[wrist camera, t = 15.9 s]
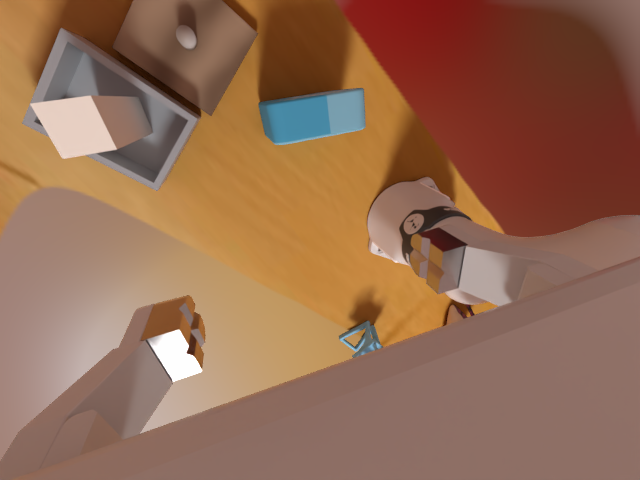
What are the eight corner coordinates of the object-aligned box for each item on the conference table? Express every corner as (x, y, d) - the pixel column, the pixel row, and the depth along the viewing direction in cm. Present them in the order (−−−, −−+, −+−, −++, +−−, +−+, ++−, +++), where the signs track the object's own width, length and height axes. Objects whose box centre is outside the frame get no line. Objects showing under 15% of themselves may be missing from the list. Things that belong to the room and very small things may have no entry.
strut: (138, 96, 34) (90, 95, 22) (153, 133, 37) (116, 149, 25) (100, 102, 34) (29, 103, 22) (117, 139, 36) (62, 158, 24)
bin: (201, 116, 38) (197, 119, 34) (164, 181, 40) (157, 191, 36) (83, 37, 31) (60, 27, 27) (48, 120, 33) (22, 123, 29)
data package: (334, 90, 41) (368, 87, 31) (337, 121, 44) (370, 128, 34) (256, 102, 39) (267, 103, 29) (264, 135, 41) (275, 146, 31)
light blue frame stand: (378, 329, 70) (404, 367, 60) (354, 349, 71) (375, 390, 61) (363, 315, 66) (388, 354, 56) (337, 336, 67) (358, 379, 57)
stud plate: (256, 35, 36) (259, 29, 32) (211, 115, 38) (209, 116, 35) (162, -51, 30) (154, -71, 26) (116, 49, 32) (103, 43, 29)
